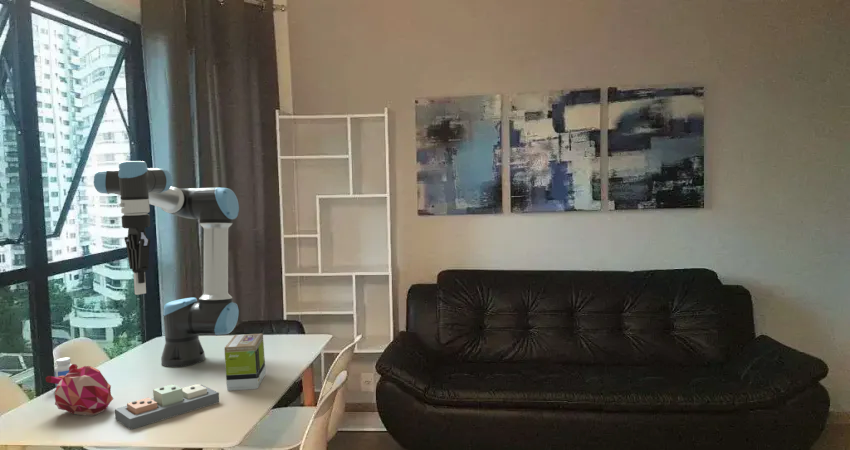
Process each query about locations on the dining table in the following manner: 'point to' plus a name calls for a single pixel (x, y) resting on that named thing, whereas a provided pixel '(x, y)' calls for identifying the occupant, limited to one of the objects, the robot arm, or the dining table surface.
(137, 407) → the tile three
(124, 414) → the button board
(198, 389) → the tile one
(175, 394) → the tile two
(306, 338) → the dining table surface
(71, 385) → the sculpture
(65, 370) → the pill bottle
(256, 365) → the tea box
